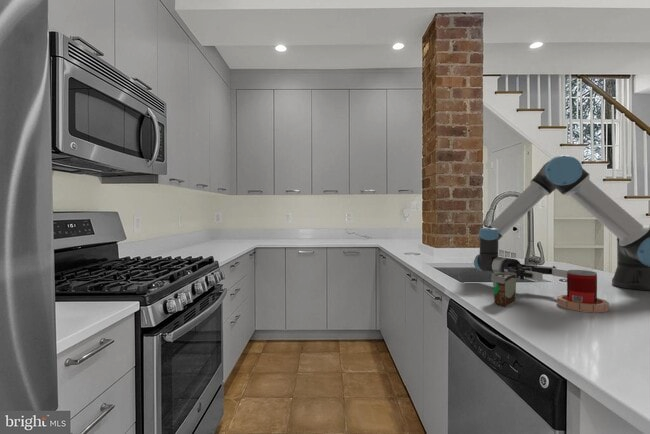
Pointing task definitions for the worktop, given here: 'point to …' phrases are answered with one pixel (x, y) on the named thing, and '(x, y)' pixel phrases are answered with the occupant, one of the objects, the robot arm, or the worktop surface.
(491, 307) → the worktop surface
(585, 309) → the ring dish
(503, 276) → the food container
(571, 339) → the worktop surface
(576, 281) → the canned food
